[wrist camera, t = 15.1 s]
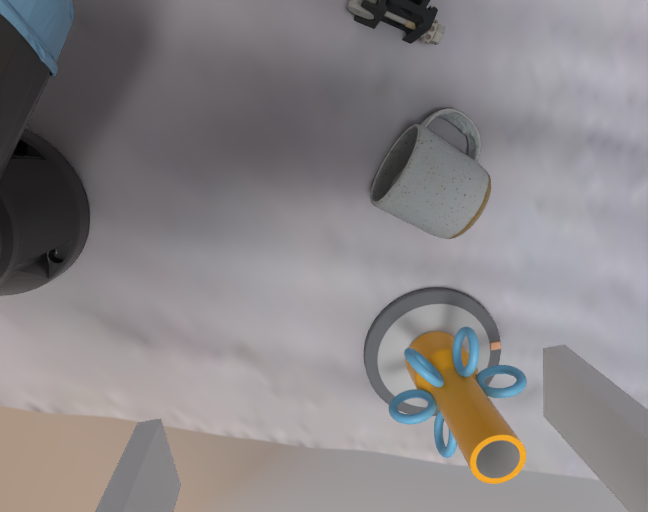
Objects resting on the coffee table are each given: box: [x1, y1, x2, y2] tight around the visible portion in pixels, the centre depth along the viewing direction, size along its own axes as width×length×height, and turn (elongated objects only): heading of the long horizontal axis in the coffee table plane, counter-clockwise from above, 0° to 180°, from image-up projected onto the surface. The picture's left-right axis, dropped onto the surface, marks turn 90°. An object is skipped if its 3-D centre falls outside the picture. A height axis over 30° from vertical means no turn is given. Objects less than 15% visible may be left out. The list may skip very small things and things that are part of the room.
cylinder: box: [389, 326, 527, 484], centre depth 39 cm, size 12×10×15 cm
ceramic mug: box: [370, 108, 491, 239], centre depth 39 cm, size 11×8×8 cm
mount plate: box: [364, 288, 501, 416], centre depth 47 cm, size 14×14×1 cm
